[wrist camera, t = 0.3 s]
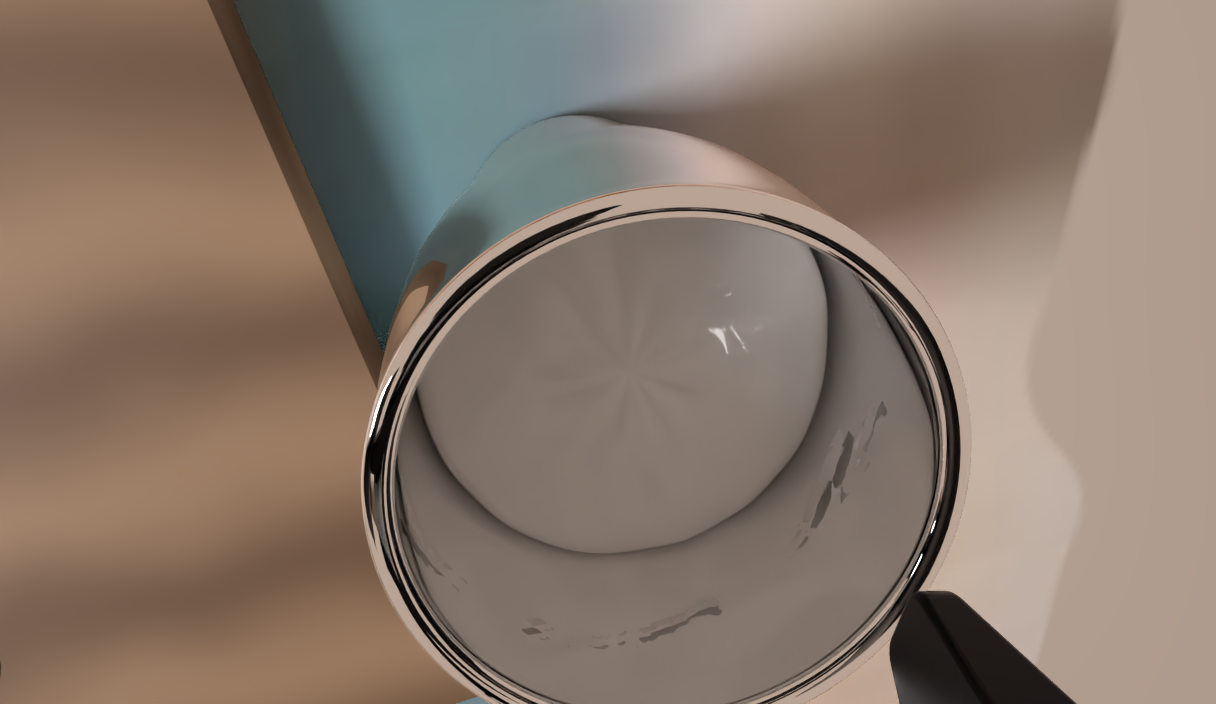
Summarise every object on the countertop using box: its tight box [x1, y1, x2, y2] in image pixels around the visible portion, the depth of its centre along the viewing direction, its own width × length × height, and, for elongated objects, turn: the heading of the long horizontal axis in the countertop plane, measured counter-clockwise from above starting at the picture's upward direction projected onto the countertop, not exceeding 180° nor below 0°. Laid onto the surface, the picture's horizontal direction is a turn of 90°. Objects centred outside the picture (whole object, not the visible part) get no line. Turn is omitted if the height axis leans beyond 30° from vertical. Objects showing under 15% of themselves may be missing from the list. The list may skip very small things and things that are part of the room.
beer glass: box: [361, 115, 971, 704], centre depth 16 cm, size 7×7×15 cm
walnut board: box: [0, 0, 477, 704], centre depth 22 cm, size 24×15×2 cm, turn 17°
